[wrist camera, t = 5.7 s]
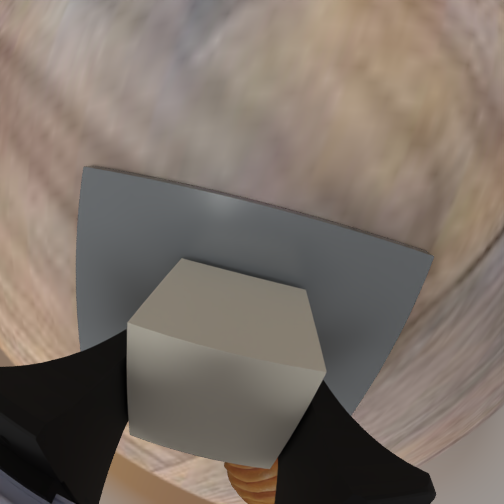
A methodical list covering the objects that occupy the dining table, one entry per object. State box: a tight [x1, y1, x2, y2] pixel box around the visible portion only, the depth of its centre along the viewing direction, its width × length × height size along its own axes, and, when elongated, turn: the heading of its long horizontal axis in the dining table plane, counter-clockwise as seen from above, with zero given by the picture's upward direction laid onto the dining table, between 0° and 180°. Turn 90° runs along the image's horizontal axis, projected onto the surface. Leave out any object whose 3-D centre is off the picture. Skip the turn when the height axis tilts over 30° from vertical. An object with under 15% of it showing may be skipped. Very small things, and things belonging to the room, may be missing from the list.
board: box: [76, 166, 434, 416], centre depth 13 cm, size 16×11×1 cm
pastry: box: [224, 457, 278, 504], centre depth 16 cm, size 9×7×4 cm
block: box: [127, 258, 327, 469], centre depth 10 cm, size 5×5×5 cm
